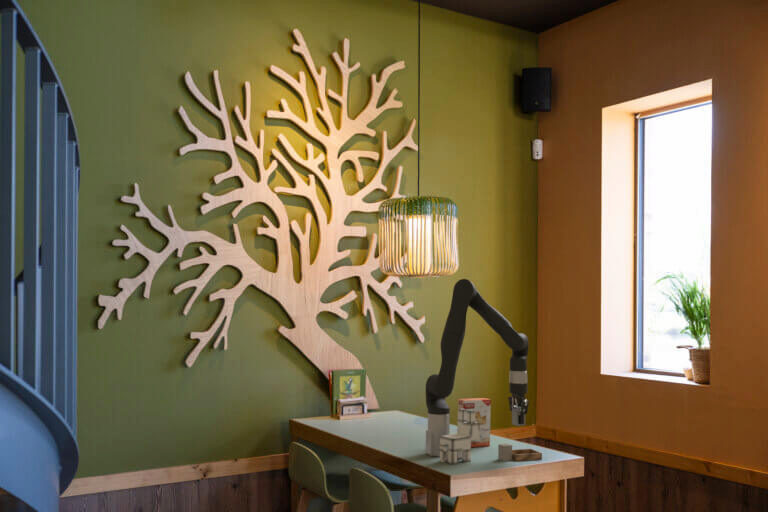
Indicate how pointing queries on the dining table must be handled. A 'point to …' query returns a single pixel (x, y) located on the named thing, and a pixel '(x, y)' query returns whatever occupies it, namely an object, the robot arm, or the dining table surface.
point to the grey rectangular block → (516, 418)
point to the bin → (526, 454)
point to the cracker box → (479, 417)
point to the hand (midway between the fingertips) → (518, 423)
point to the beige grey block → (505, 452)
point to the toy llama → (460, 439)
